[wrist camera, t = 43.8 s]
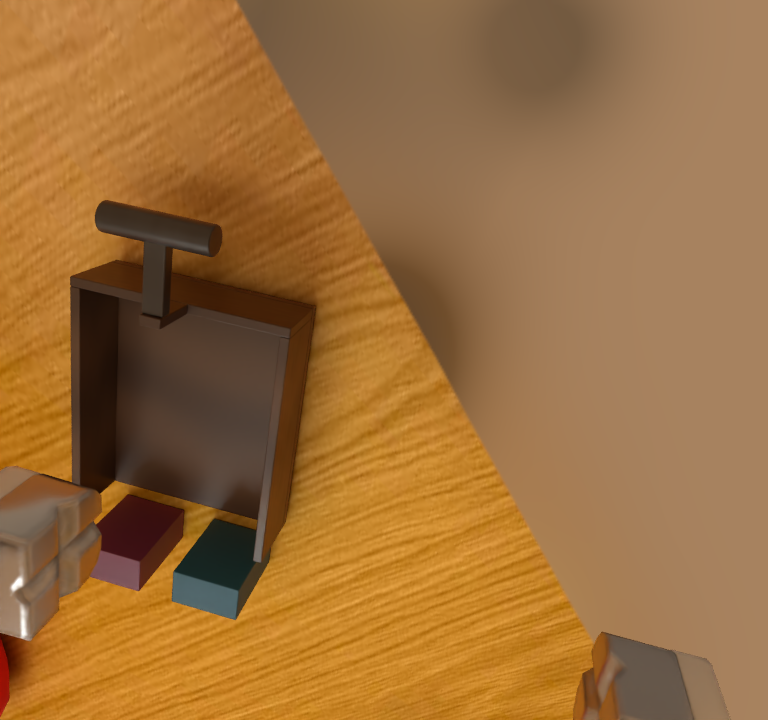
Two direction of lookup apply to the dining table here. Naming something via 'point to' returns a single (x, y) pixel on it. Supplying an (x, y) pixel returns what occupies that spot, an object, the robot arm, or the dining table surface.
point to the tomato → (3, 679)
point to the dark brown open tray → (185, 376)
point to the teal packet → (219, 570)
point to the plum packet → (136, 541)
